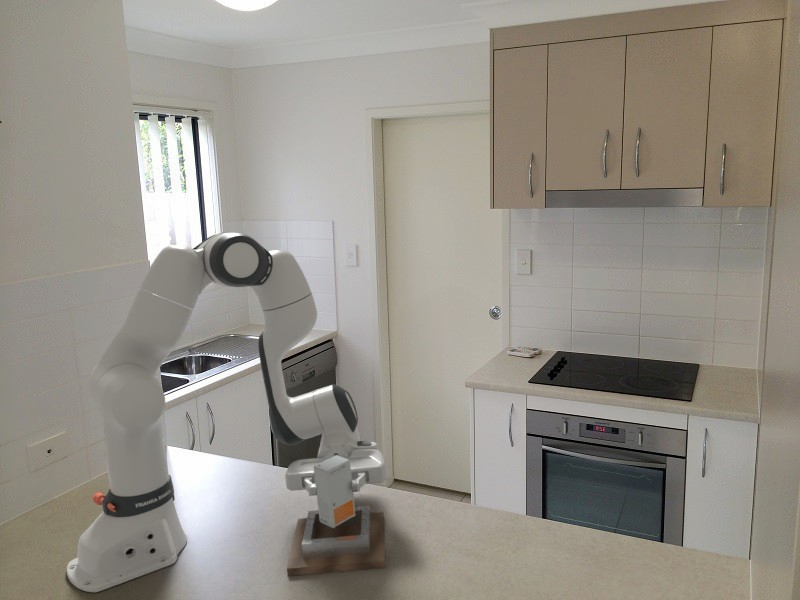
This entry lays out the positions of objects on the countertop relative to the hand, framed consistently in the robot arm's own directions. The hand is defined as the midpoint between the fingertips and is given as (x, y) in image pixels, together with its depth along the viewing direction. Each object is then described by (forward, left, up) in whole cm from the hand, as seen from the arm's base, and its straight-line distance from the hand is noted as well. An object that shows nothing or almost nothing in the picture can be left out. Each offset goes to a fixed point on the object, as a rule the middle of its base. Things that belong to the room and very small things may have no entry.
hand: (334, 490), depth 130 cm
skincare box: (+1, +1, -7) cm, 7 cm away
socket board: (0, +1, -12) cm, 12 cm away
